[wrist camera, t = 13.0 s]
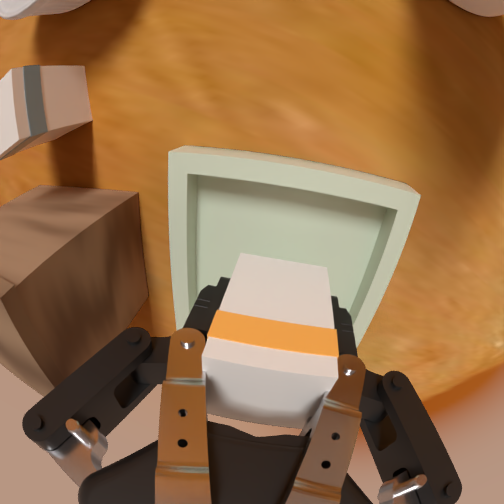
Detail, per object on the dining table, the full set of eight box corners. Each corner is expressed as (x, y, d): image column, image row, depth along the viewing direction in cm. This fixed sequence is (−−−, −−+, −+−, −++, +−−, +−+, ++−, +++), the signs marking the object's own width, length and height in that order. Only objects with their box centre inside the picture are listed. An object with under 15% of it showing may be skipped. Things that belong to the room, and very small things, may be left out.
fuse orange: (239, 251, 12) (199, 354, 7) (328, 266, 12) (340, 376, 7) (233, 316, 15) (204, 412, 9) (308, 329, 14) (305, 429, 9)
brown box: (37, 181, 16) (-66, 247, 7) (142, 188, 15) (0, 298, 6) (58, 273, 20) (-14, 351, 11) (153, 302, 19) (82, 420, 10)
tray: (184, 145, 13) (168, 151, 12) (406, 183, 12) (420, 195, 11) (186, 314, 19) (177, 333, 18) (345, 341, 19) (348, 362, 17)
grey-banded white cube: (47, 89, 12) (-19, 102, 7) (85, 65, 11) (12, 67, 6) (55, 140, 14) (-10, 164, 9) (93, 120, 13) (19, 140, 8)
